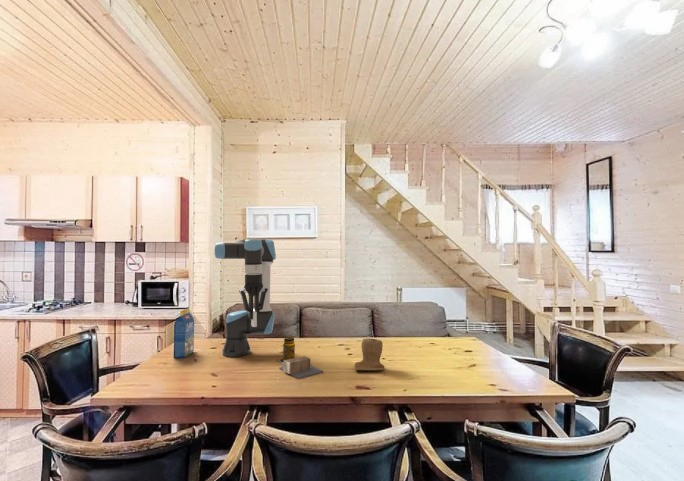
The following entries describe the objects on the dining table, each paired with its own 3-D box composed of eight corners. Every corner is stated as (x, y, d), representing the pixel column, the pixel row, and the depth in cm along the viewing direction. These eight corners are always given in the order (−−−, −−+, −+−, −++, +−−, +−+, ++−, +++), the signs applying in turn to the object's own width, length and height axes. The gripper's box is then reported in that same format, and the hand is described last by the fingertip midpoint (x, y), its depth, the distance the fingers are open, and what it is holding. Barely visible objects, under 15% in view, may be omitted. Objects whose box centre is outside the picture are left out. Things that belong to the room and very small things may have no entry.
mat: (279, 368, 175) (279, 367, 175) (303, 363, 184) (303, 361, 184) (298, 378, 162) (298, 376, 162) (323, 372, 171) (323, 370, 171)
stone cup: (382, 365, 182) (382, 335, 183) (385, 373, 170) (386, 341, 171) (353, 365, 182) (353, 335, 182) (354, 373, 170) (354, 341, 170)
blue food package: (173, 358, 191) (174, 311, 192) (182, 351, 203) (183, 307, 204) (184, 358, 191) (185, 311, 192) (193, 351, 203) (194, 307, 204)
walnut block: (283, 360, 170) (304, 355, 177) (283, 371, 170) (304, 366, 177) (289, 363, 166) (310, 358, 174) (288, 374, 166) (310, 368, 173)
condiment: (297, 361, 187) (297, 338, 187) (282, 364, 182) (282, 340, 183) (291, 358, 193) (291, 335, 193) (276, 360, 188) (277, 337, 189)
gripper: (242, 275, 152) (242, 330, 153) (270, 273, 160) (271, 325, 160) (236, 274, 158) (236, 326, 159) (263, 272, 166) (264, 322, 167)
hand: (254, 326), depth 160 cm, fingers closed
